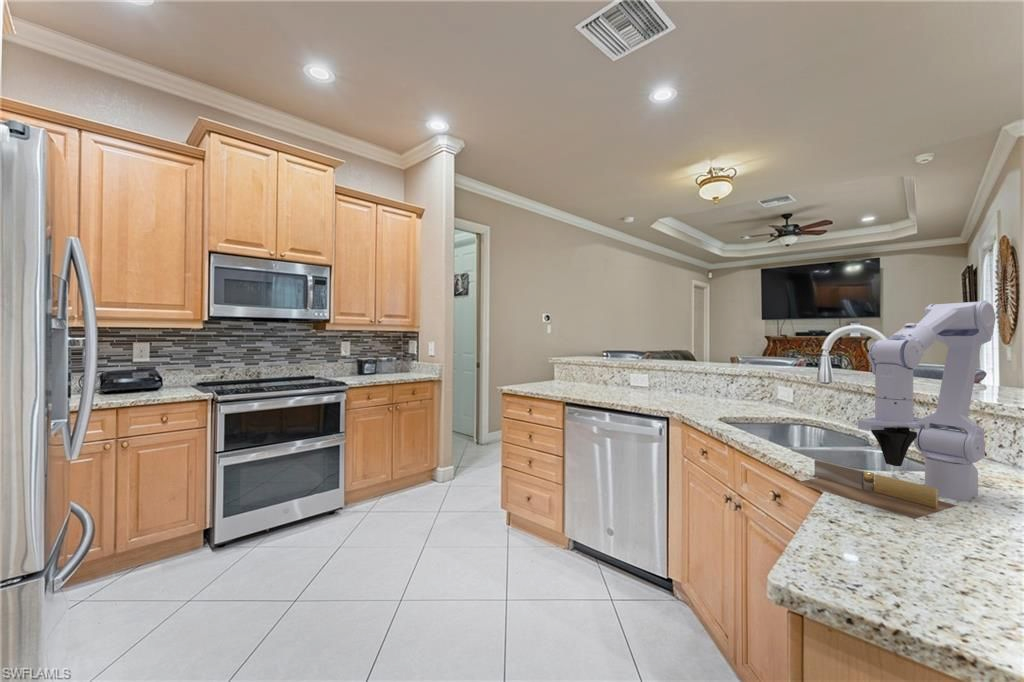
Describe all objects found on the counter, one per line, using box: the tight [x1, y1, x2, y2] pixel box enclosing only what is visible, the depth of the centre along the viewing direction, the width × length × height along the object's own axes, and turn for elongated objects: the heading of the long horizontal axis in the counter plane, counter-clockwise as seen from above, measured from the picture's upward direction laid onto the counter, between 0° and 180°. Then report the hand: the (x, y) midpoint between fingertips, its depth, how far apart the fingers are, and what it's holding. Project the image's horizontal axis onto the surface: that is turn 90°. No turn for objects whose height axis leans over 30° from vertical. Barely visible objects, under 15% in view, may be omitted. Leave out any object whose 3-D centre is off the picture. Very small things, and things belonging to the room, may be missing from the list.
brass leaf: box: [864, 471, 939, 508], centre depth 88 cm, size 12×2×4 cm, turn 26°
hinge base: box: [794, 459, 958, 520], centre depth 92 cm, size 17×23×5 cm
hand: (893, 464), depth 84 cm, fingers closed
